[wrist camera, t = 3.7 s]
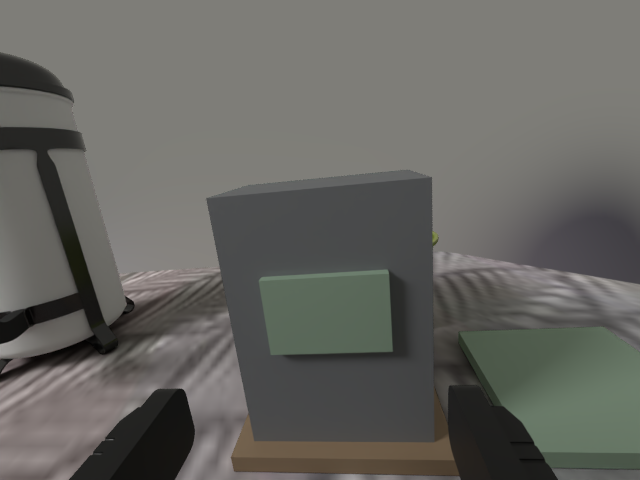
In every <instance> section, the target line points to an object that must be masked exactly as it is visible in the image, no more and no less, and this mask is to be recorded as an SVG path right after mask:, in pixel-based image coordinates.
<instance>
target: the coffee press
mask: <svg viewBox="0 0 640 480" xmlns="http://www.w3.org/2000/svg"><path fill="white" fill-rule="evenodd" d="M73 103H74V99H73V96H72V93H71V92H70V91H69V90H68V89H66V88H64V86H63V85H62V83H61V82H60V80H59V79H58V78H57V77H56V76H55V75H54V74H53V73H51V72H50V71H49V70H47V69H45V68H43V67H42V66H40V65H38V64H36V63H34V62H31V61H29V60H26V59H23V58H20V57H17V56H13V55H9V54H5V53H1V52H0V358H1V359H0V373H1V372H2V370H3V369H4V367H5V366H6V365H7V364H8V363H9V362H10V361H11V360H13V359H18V358H26V357H32V356H37V355H41V354H45V353H49V352H52V351H56V350H59V349H62V348H65V347H68V346H70V345H73V344H76V343H78V342H80V341H87V342H89V343H90V344H91V345H92V346H93V347H94V348H95V349H96V350H97V351H98V352H99V353H100V354H105V353H106V352H108V351H110V350H111V349H113V348H115V347H117V346H118V340H117V338H116V337H115V335H114V334H113V333H112V331H111V330H110V329H109V327H108V326H109V325H111V324H112V323H113V322H115V321H116V320H117V319H118V318H119V317H120V315H121V314H122V313H123V312H127V313H128V312H131V311H132V310H133V309H134V302H133V301H132V300H130V299H129V298H127V297H126V296H125V295H124V291H123V287H122V284H121V280H120V276H119V273H118V269H117V266H116V262H115V259H114V256H113V252H112V249H111V245H110V241H109V238H108V234H107V231H106V227H105V224H104V221H103V217H102V214H101V210H100V207H99V203H98V200H97V196H96V193H95V189H94V186H93V182H92V179H91V175H90V172H89V169H88V165H87V161H86V158H85V154H84V152H85V151H86V148H85V145H84V142H83V138H82V134H81V133H80V132H78V130H77V127H76V123H75V120H74V116H73V112H72V107H73ZM126 303H127V306H126ZM125 306H126V308H125Z"/></svg>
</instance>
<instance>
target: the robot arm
mask: <svg viewBox="0 0 640 480" xmlns="http://www.w3.org/2000/svg"><path fill="white" fill-rule="evenodd" d="M448 432H449V440H450V445H451V450H452V454H453V457H454V460H455V463H456V466H457V469H458V472H459V475H460V478H461V480H558V479H557V477H556V476H555V474H554V473H553V471H552V469H551V468H550V466H549V465H548V463H546V462H545V458H544V457H543V455H542V454H541V452H540V450H539V449H538V447H537V446H535V444H534V441H533V439H532V438H531V436H530V434H529V433H528V431H527V430H526V428H525V426H524V425H523V423H522V422H521V421H520V420H519V419H518V418H516V417H515V416H514V415H513V414H512V413H511V412H510V411H508V410H507V409H506V408H505V407H504V406H490V405H489V403H488V401H487V399H486V397H485V396H484V394H483V392H482V390H481V388H480V387H479V386H477V385H462V386H449V390H448ZM194 435H195V429H194V424H193V420H192V416H191V412H190V408H189V404H188V400H187V396H186V393H185V391H184V390H183V389H157V390H156V391H154V392H153V393H152V394H151V396H150V397H149V398H148V399H147V400H146V402H145V403H144V404H143V405H142V406H141V407H138V408H137V409H135V410H134V411H133V412H131V413H130V414H129V415H127V416H126V417H125V418H123V419H122V420H121V421H120V422H119V423H118V424H117V425H116V426H115V427H114V429H113V430H112V431H111V432H110V433H109V434H108V435H107V437H106V439H105V441H102V442H101V444H100V445H99V446H98V447H97V448H96V449H95V450H94V452H93V455H90V456H89V457H88V459H87V460H86V461H85V462H84V463H83V464H82V465H81V467H80V468H79V469H78V470H77V471H76V472H75V474H74V475H73V476H72V477H71V478H70V479H69V480H175V478H176V476H177V475H178V473H179V471H180V469H181V467H182V465H183V464H184V462H185V460H186V458H187V456H188V454H189V452H190V450H191V448H192V445H193V442H194Z"/></svg>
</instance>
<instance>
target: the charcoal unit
mask: <svg viewBox="0 0 640 480" xmlns="http://www.w3.org/2000/svg"><path fill="white" fill-rule="evenodd" d="M207 204H208V209H209V214H210V220H211V225H212V230H213V235H214V240H215V245H216V250H217V255H218V260H219V265H220V270H221V276H222V281H223V286H224V291H225V296H226V301H227V306H228V311H229V316H230V321H231V326H232V331H233V336H234V341H235V347H236V352H237V357H238V362H239V367H240V372H241V377H242V382H243V387H244V392H245V397H246V402H247V407H248V416H247V418H246V421H245V423H244V426H243V428H242V431H241V433H240V436H239V438H238V441H237V443H236V446H235V448H234V451H233V453H232V456H231V459H232V464H233V468H234V471H245V472H296V473H347V474H397V475H448V476H460V475H459V472H458V469H457V466H456V463H455V460H454V457H453V454H452V450H451V445H450V440H449V432H448V424H447V421H446V418H445V416H444V413H443V410H442V407H441V404H440V401H439V398H438V396H437V393H436V390H435V387H434V342H433V241H432V177H429V176H426V175H423V174H420V173H417V172H413V171H410V170H400V171H390V172H380V173H370V174H359V175H349V176H339V177H329V178H319V179H308V180H299V181H298V180H297V181H287V182H278V183H267V184H256V185H248V186H244V187H241V188H238V189H235V190H232V191H228V192H225V193H222V194H219V195H216V196H212V197H209V198H207Z"/></svg>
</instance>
